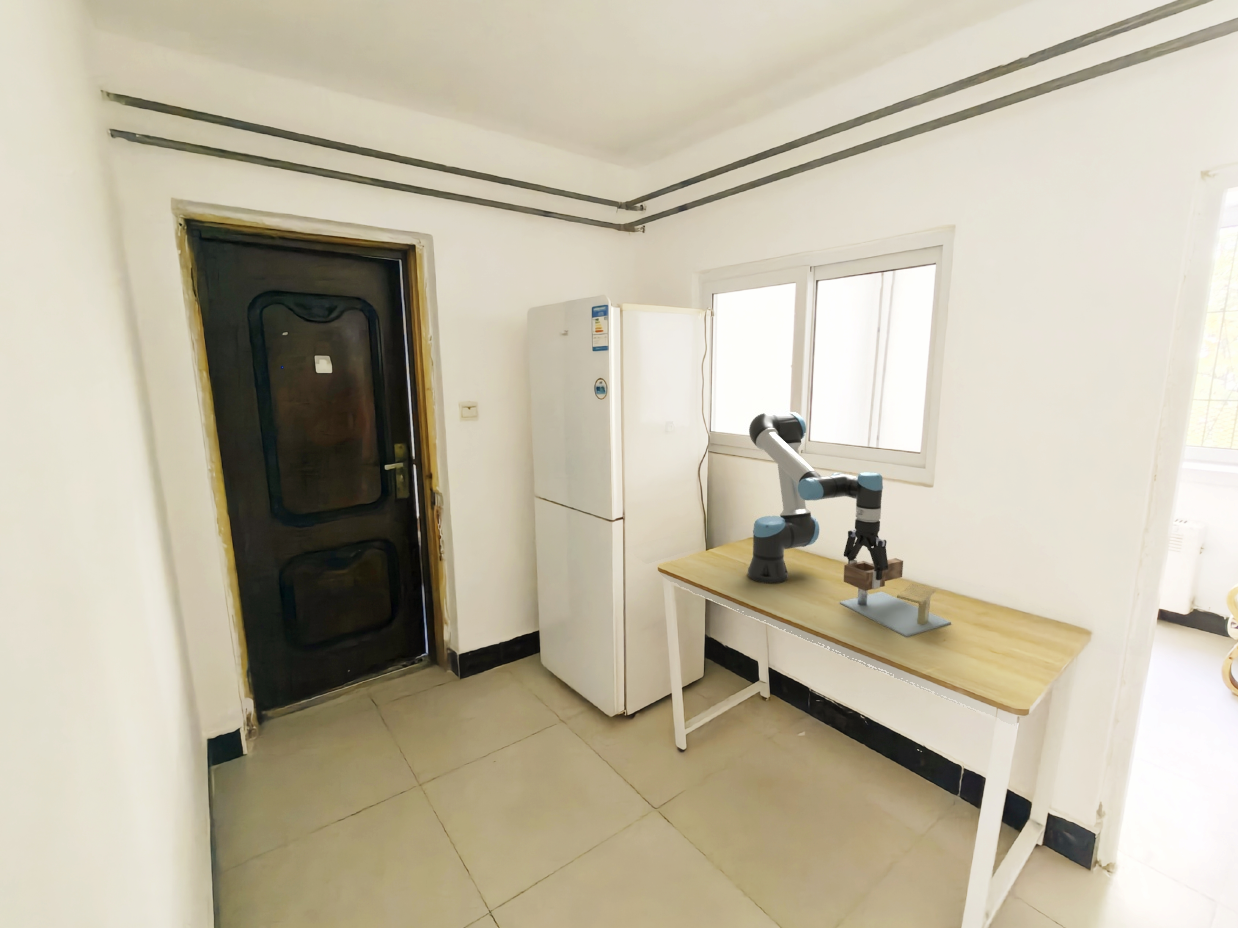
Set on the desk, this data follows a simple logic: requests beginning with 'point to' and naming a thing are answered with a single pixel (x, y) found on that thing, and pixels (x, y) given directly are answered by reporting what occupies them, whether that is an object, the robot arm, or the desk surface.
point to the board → (894, 614)
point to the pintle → (862, 597)
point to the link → (871, 573)
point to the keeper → (918, 600)
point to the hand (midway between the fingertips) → (863, 583)
